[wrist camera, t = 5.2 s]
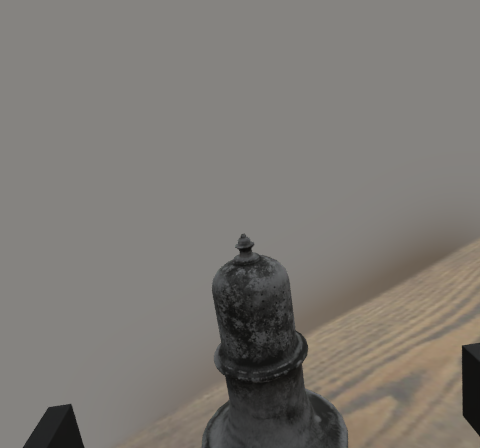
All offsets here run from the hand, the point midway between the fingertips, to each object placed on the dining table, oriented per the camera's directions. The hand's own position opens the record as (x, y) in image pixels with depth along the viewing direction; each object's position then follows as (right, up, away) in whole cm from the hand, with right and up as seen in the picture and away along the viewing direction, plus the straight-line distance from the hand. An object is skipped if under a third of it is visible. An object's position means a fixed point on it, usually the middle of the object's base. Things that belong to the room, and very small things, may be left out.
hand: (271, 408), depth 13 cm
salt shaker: (+1, -6, +4) cm, 7 cm away
